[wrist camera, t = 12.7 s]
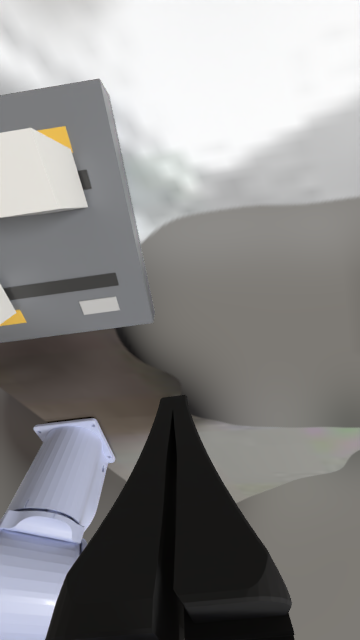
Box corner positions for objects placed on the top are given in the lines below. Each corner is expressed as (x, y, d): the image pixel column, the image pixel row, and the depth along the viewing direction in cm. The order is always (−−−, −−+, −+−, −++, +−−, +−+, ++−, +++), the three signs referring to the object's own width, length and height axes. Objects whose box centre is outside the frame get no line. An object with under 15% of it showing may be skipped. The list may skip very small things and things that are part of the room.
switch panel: (154, 312, 20) (153, 323, 18) (-8, 334, 21) (-26, 346, 19) (109, 95, 13) (98, 77, 11) (-139, 136, 14) (-187, 126, 12)
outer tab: (88, 207, 14) (59, 208, 10) (43, 213, 14) (-1, 217, 10) (70, 149, 12) (31, 127, 9) (20, 157, 12) (-39, 139, 9)
